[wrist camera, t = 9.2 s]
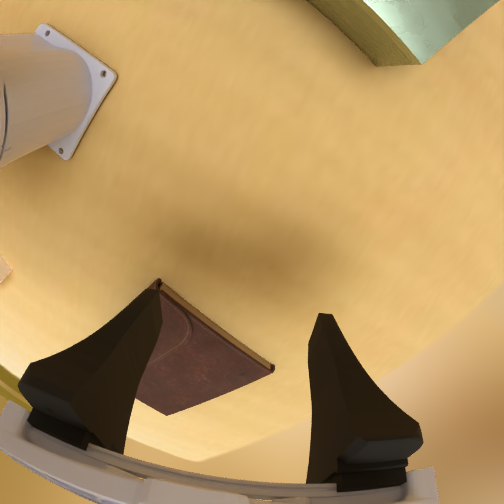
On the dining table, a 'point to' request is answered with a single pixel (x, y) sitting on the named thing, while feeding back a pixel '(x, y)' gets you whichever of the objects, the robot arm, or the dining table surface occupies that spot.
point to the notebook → (194, 359)
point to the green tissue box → (401, 25)
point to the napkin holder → (4, 268)
